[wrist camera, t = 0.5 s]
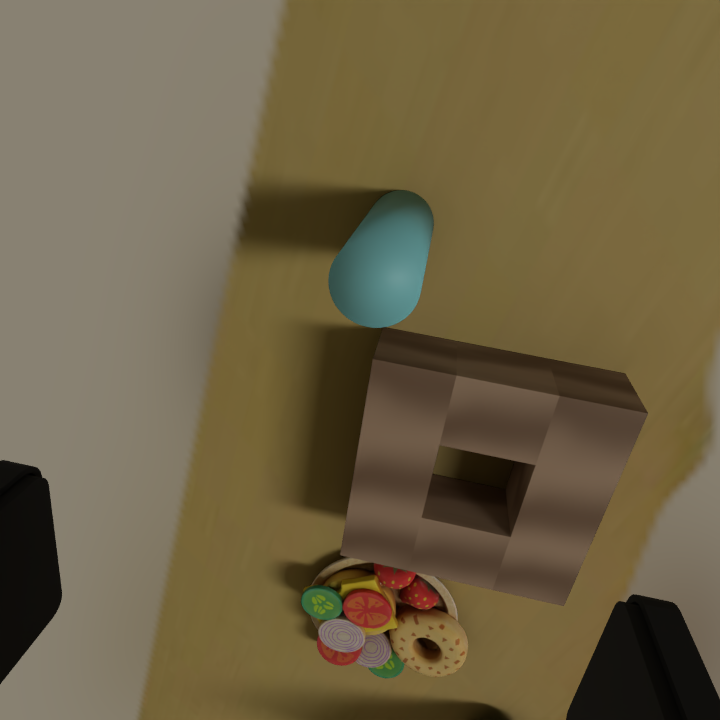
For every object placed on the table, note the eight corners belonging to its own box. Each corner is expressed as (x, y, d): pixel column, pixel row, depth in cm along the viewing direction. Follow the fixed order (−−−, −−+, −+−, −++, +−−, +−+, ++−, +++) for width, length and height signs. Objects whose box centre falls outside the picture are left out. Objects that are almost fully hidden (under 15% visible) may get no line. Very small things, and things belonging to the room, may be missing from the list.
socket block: (383, 327, 38) (372, 358, 34) (625, 373, 37) (647, 413, 32) (351, 509, 45) (339, 555, 41) (553, 553, 44) (563, 605, 40)
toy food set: (478, 645, 50) (480, 679, 47) (343, 663, 54) (337, 696, 51) (428, 531, 45) (426, 562, 43) (284, 560, 49) (273, 590, 47)
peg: (373, 184, 34) (334, 230, 24) (439, 196, 34) (429, 247, 23) (364, 249, 36) (323, 318, 25) (426, 260, 36) (412, 335, 25)
